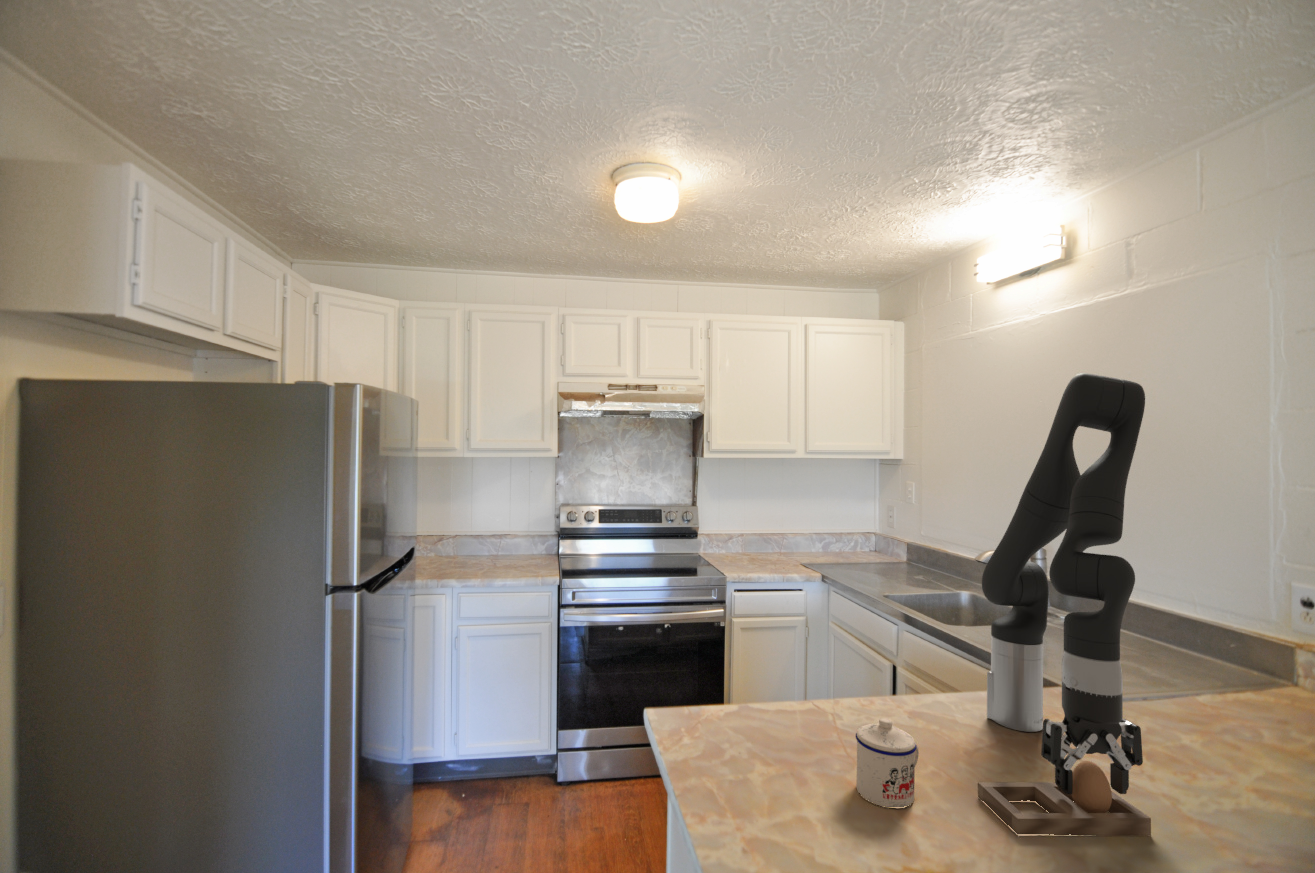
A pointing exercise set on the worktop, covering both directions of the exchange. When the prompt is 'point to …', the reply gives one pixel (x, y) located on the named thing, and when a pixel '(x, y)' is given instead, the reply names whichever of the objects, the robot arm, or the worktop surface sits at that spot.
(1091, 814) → the egg rail
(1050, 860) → the worktop surface
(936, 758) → the worktop surface
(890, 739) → the teacup with lid
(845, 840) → the worktop surface
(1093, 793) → the egg
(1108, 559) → the robot arm
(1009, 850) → the worktop surface
